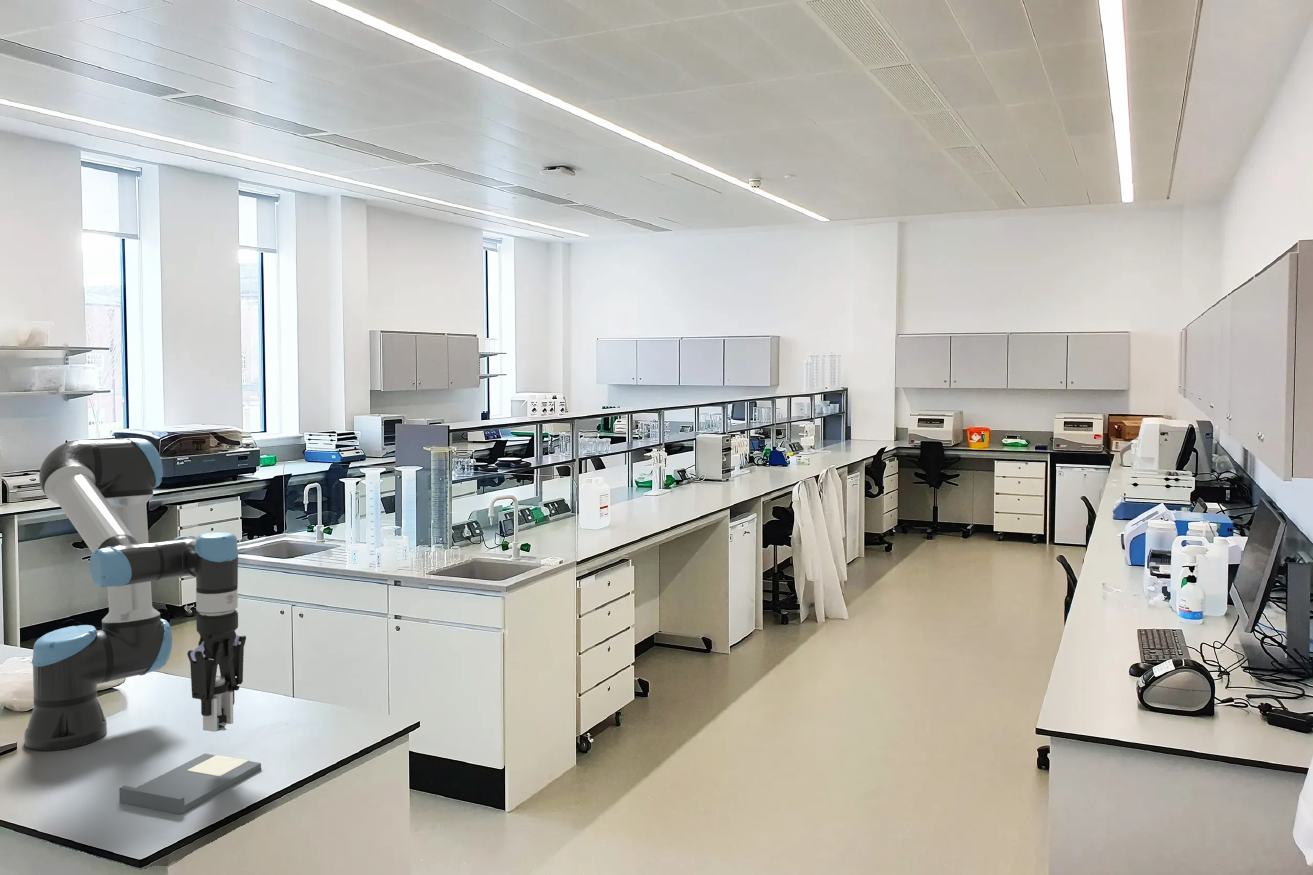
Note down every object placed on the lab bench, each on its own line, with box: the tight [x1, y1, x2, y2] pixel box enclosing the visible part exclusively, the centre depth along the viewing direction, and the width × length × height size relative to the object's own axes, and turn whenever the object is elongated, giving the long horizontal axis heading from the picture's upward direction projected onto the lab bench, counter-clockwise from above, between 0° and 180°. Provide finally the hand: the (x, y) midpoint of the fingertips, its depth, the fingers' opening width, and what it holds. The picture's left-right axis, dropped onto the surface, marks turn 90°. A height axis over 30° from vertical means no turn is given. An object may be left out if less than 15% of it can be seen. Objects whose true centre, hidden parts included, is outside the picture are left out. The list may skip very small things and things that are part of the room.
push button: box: [213, 675, 230, 732], centre depth 185 cm, size 7×5×10 cm
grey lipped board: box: [118, 753, 262, 815], centre depth 180 cm, size 14×21×3 cm, turn 163°
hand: (218, 726), depth 186 cm, fingers closed on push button, 4 cm apart
